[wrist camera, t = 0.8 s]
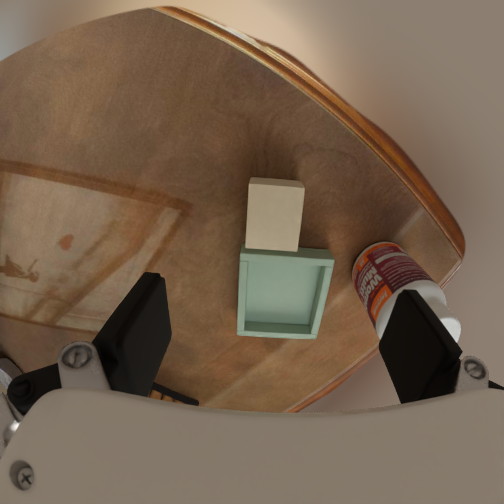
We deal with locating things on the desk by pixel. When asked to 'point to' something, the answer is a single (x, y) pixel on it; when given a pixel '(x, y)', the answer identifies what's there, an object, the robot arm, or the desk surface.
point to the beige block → (274, 214)
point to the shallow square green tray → (282, 292)
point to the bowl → (8, 371)
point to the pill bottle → (396, 285)
